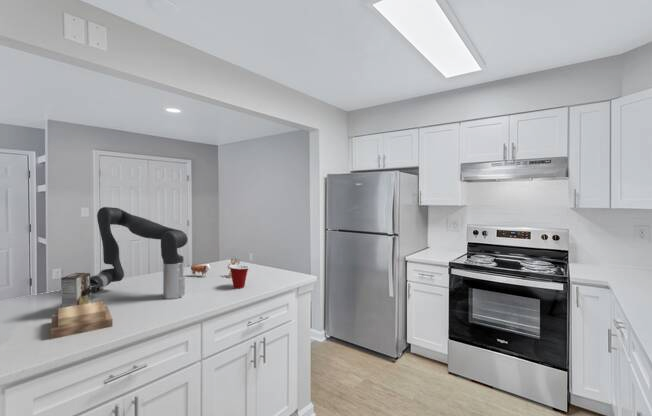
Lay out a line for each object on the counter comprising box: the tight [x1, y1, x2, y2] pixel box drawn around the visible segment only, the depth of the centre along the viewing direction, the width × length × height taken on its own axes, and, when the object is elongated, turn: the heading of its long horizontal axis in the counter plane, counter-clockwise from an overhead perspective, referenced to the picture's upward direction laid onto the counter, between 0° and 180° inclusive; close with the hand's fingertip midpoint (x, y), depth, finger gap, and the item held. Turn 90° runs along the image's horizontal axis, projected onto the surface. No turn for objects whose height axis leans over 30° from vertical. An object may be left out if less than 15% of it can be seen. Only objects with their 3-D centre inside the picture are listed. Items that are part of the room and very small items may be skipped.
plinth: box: [50, 301, 113, 340], centre depth 124 cm, size 18×18×6 cm
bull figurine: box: [190, 263, 211, 278], centre depth 200 cm, size 4×13×8 cm, turn 78°
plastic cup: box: [229, 264, 250, 289], centre depth 178 cm, size 11×11×12 cm
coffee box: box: [60, 272, 92, 308], centre depth 137 cm, size 9×6×16 cm
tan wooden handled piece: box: [225, 257, 240, 279], centre depth 202 cm, size 9×4×12 cm, turn 136°
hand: (73, 294), depth 134 cm, fingers closed on coffee box, 6 cm apart
